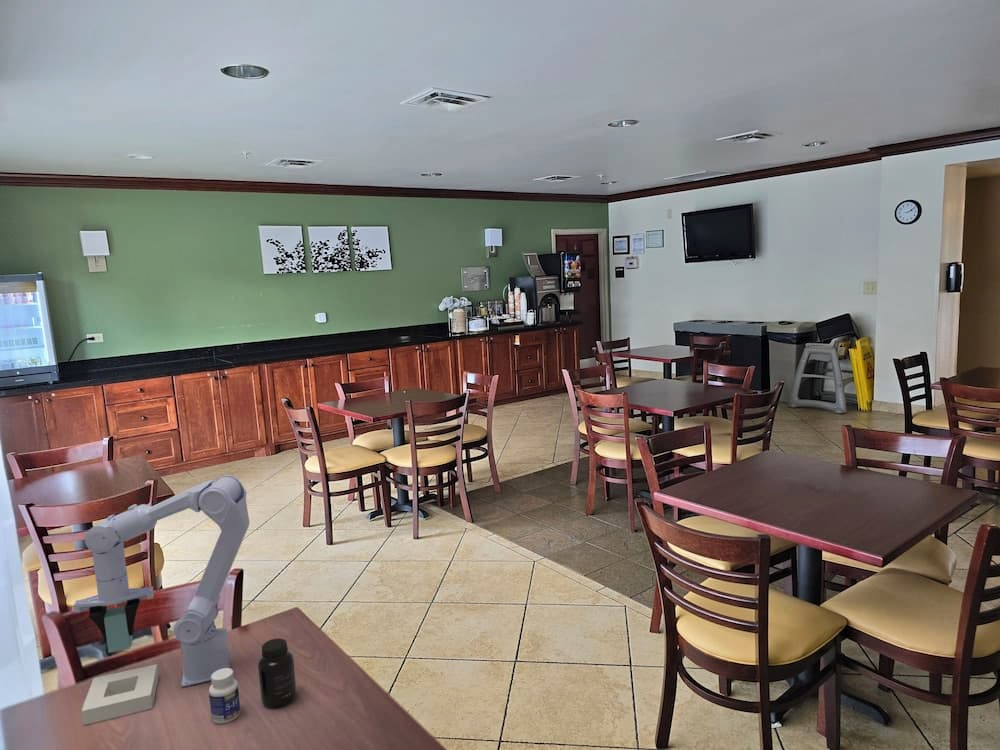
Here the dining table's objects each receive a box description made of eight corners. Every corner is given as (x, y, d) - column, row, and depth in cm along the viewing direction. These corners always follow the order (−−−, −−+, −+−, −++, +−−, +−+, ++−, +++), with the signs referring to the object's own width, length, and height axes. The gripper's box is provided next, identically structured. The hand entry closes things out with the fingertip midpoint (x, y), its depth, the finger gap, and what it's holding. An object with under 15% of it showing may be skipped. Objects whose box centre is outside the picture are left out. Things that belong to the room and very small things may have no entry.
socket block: (158, 676, 143) (157, 664, 143) (152, 708, 132) (150, 694, 132) (95, 691, 139) (93, 678, 139) (83, 725, 128) (81, 711, 128)
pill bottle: (230, 725, 126) (225, 683, 125) (205, 723, 127) (201, 680, 126) (246, 708, 131) (241, 667, 130) (222, 706, 132) (218, 665, 131)
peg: (132, 639, 144) (128, 605, 143) (129, 648, 140) (125, 613, 139) (112, 643, 143) (107, 609, 142) (108, 653, 139) (103, 617, 138)
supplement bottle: (255, 700, 134) (249, 645, 132) (286, 684, 138) (281, 631, 137) (272, 714, 129) (266, 657, 127) (303, 697, 134) (298, 642, 132)
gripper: (152, 562, 146) (159, 619, 147) (76, 575, 141) (84, 634, 142) (147, 574, 139) (155, 634, 141) (68, 588, 134) (77, 650, 136)
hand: (119, 635), depth 141 cm, fingers closed on peg, 4 cm apart
